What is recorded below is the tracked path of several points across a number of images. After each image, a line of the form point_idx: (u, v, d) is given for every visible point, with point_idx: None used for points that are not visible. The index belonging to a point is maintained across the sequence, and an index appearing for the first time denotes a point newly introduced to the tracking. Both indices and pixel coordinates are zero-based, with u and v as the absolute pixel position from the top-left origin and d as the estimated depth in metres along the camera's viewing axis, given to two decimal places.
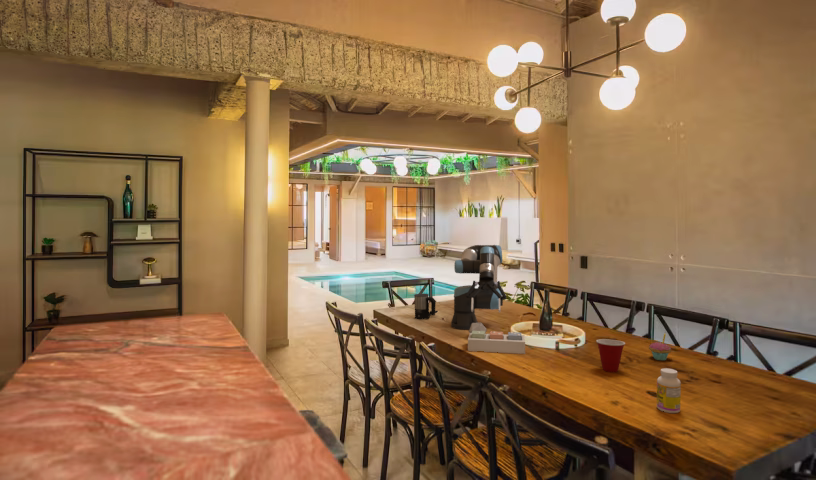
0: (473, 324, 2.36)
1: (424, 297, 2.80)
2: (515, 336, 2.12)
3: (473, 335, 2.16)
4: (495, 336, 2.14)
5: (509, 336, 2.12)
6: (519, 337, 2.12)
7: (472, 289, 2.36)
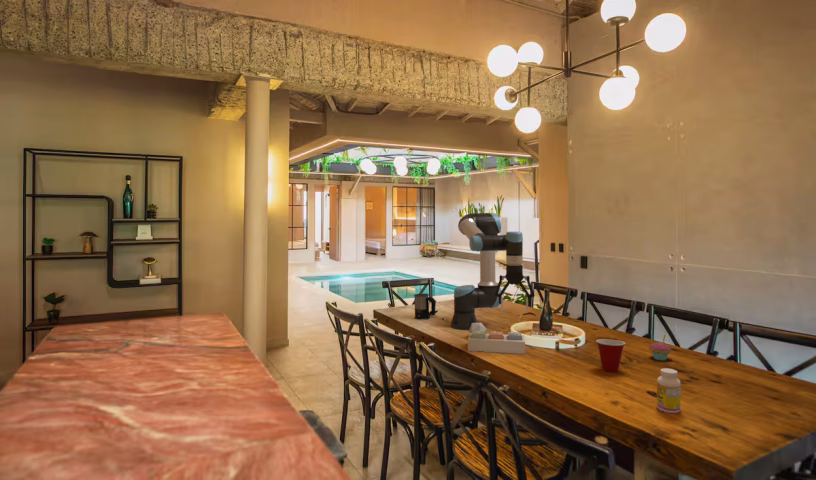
0: (473, 324, 2.36)
1: (424, 297, 2.80)
2: (515, 336, 2.12)
3: (473, 335, 2.16)
4: (495, 336, 2.14)
5: (509, 336, 2.12)
6: (519, 337, 2.12)
7: None
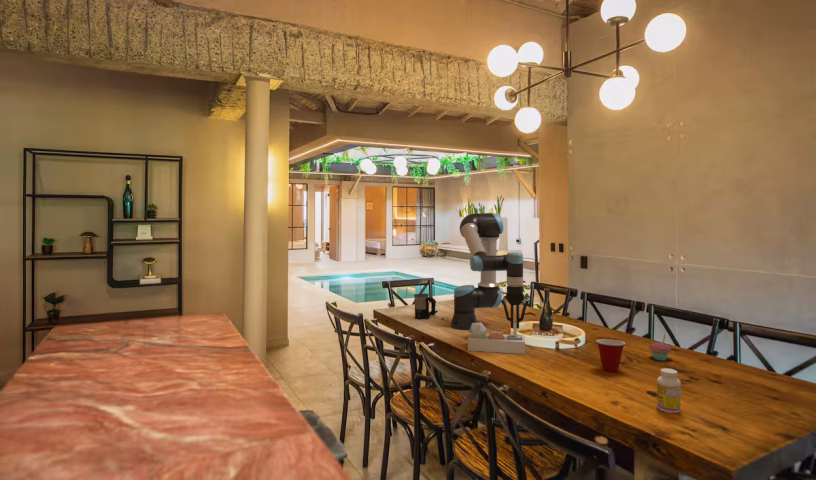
0: (473, 324, 2.36)
1: (424, 297, 2.80)
2: (515, 338, 2.12)
3: (473, 335, 2.16)
4: (495, 336, 2.14)
5: (509, 338, 2.12)
6: (519, 339, 2.12)
7: None
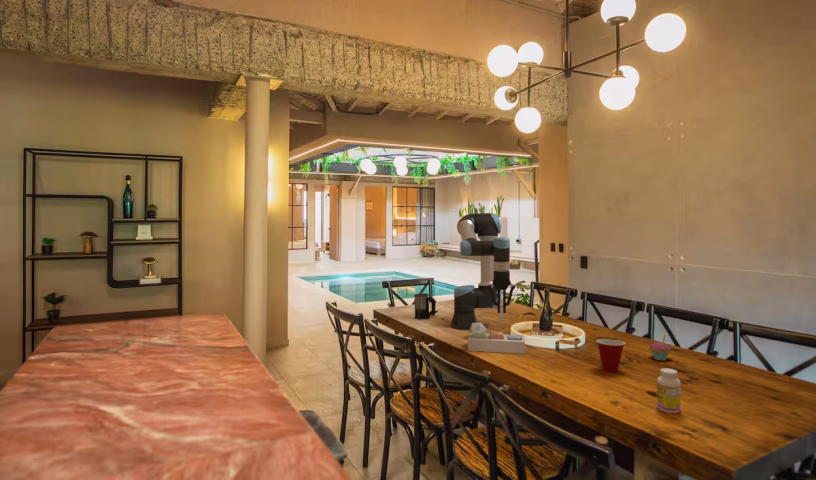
0: (473, 324, 2.36)
1: (424, 297, 2.80)
2: (515, 339, 2.12)
3: (473, 335, 2.16)
4: (495, 336, 2.14)
5: (509, 339, 2.12)
6: None
7: (493, 294, 2.15)
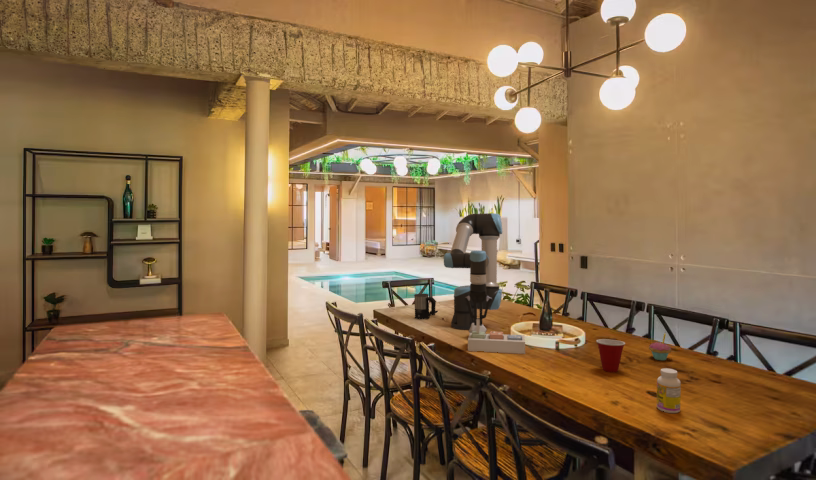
0: (473, 324, 2.36)
1: (424, 297, 2.80)
2: (515, 339, 2.12)
3: (473, 336, 2.16)
4: (495, 336, 2.14)
5: (509, 339, 2.12)
6: None
7: (470, 306, 2.18)
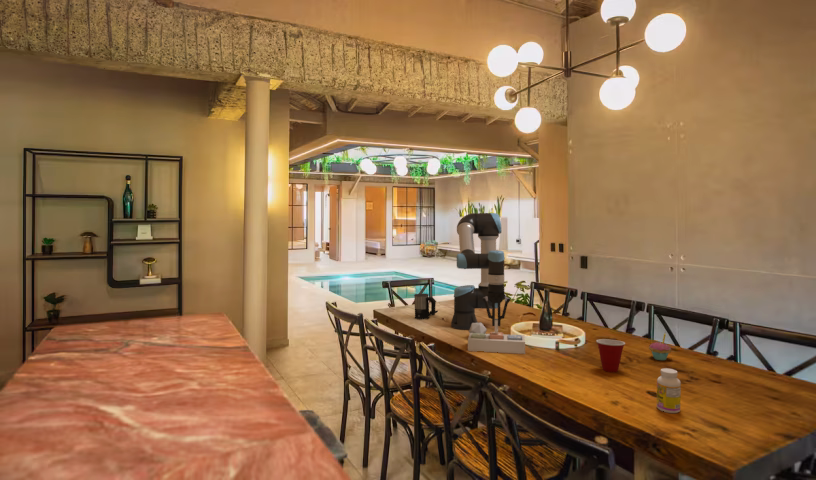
0: (473, 324, 2.36)
1: (424, 297, 2.80)
2: (515, 339, 2.12)
3: (473, 337, 2.16)
4: (495, 337, 2.14)
5: (509, 339, 2.12)
6: None
7: (488, 307, 2.16)
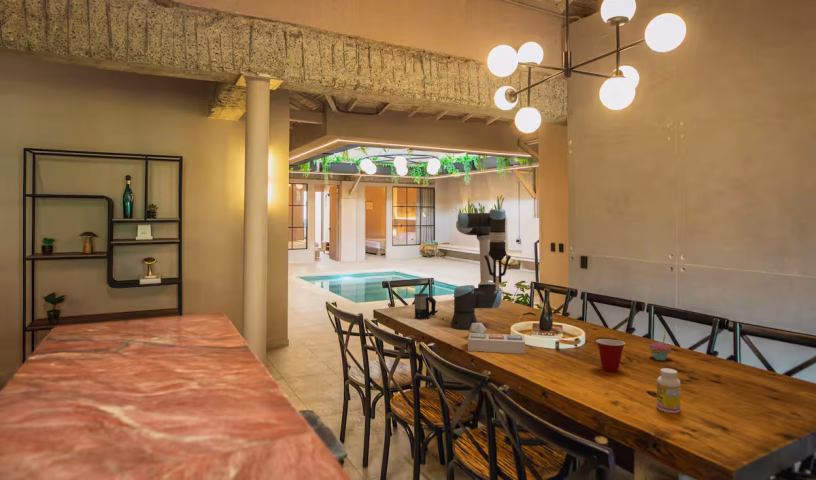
0: (473, 324, 2.36)
1: (424, 297, 2.80)
2: (515, 339, 2.12)
3: (473, 337, 2.16)
4: (495, 338, 2.14)
5: (509, 339, 2.12)
6: None
7: (489, 264, 2.21)
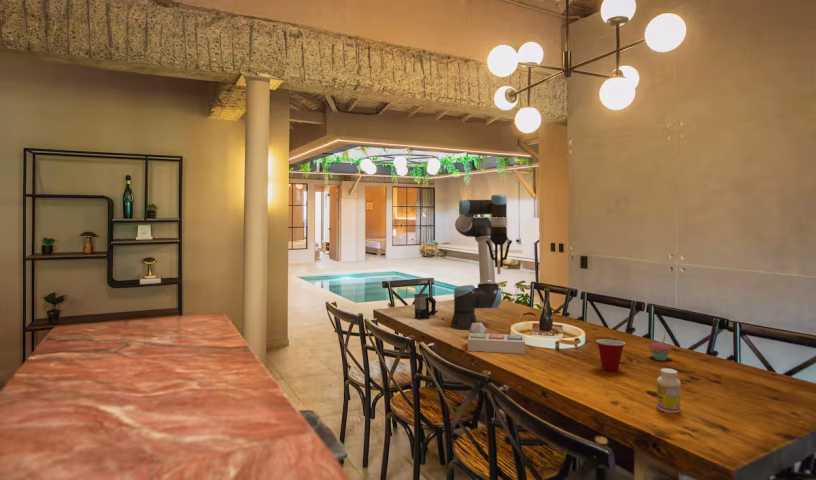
0: (473, 324, 2.36)
1: (424, 297, 2.80)
2: (515, 339, 2.12)
3: (473, 337, 2.16)
4: (495, 338, 2.14)
5: (509, 339, 2.12)
6: None
7: (491, 249, 2.25)
